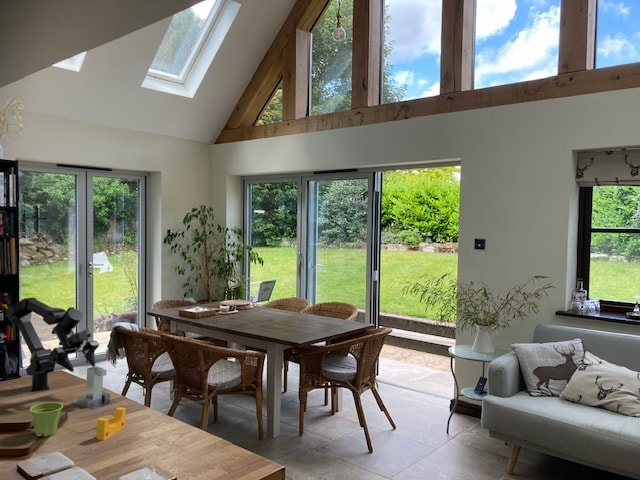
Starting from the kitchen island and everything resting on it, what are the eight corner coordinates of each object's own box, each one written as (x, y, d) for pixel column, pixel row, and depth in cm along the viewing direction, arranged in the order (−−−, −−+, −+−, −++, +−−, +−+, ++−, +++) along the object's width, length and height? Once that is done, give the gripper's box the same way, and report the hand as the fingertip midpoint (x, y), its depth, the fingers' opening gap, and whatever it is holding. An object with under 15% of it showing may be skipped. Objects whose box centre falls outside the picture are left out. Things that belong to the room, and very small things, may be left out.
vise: (71, 405, 189) (71, 396, 189) (94, 398, 198) (94, 389, 198) (92, 412, 183) (93, 402, 183) (115, 404, 192) (115, 395, 192)
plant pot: (51, 440, 158) (53, 413, 158) (22, 438, 158) (23, 411, 158) (67, 428, 168) (68, 403, 168) (39, 427, 168) (40, 401, 168)
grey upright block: (85, 402, 190) (87, 368, 189) (94, 399, 193) (96, 366, 193) (98, 406, 186) (99, 371, 186) (107, 403, 190) (108, 369, 190)
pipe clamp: (113, 425, 173) (114, 406, 173) (124, 426, 172) (125, 408, 172) (91, 439, 161) (92, 419, 161) (103, 440, 160) (104, 420, 160)
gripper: (54, 326, 187) (72, 361, 182) (97, 320, 204) (114, 351, 199) (40, 345, 191) (57, 379, 186) (83, 337, 208) (100, 368, 203)
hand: (83, 368), depth 193 cm, fingers open, 9 cm apart
